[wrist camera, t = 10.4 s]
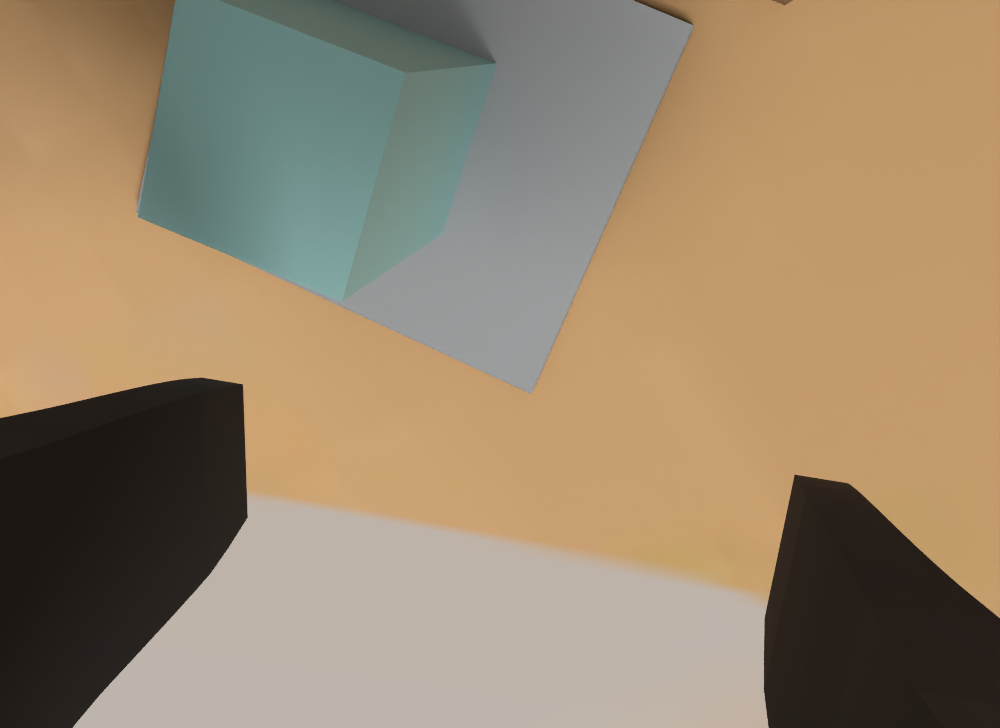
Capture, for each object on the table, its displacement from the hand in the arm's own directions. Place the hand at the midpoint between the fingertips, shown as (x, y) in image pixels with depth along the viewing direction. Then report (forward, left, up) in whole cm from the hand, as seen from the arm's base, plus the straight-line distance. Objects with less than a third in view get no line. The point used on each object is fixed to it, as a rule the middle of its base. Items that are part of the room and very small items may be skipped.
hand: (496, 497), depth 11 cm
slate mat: (+6, -2, -10) cm, 12 cm away
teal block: (+6, -2, -10) cm, 12 cm away
